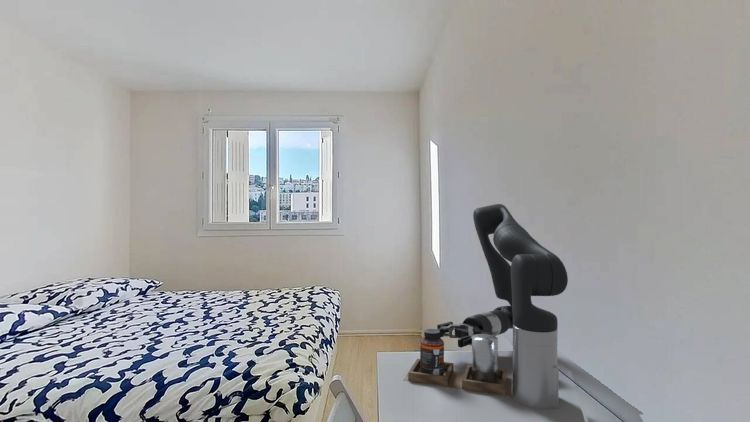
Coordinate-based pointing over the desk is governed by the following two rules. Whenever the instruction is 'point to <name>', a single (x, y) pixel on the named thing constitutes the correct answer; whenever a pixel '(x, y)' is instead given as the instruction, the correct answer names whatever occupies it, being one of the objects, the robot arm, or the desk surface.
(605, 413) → the desk surface
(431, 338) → the supplement bottle
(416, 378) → the wooden double tray
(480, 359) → the seated can
